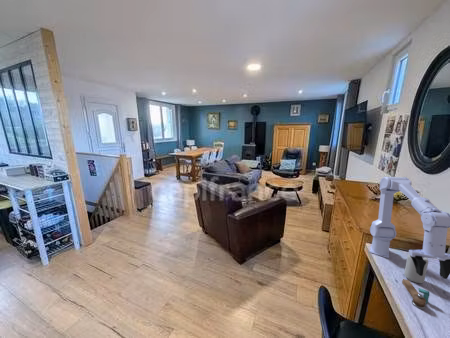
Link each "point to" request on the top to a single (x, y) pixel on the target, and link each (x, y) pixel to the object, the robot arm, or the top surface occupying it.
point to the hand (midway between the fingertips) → (431, 275)
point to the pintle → (415, 304)
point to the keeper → (425, 294)
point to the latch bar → (414, 293)
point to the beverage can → (414, 271)
